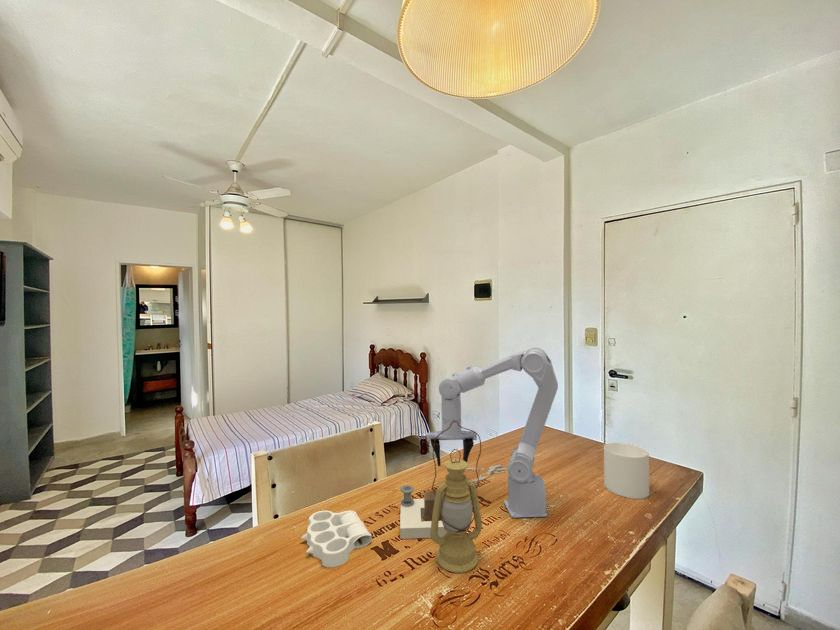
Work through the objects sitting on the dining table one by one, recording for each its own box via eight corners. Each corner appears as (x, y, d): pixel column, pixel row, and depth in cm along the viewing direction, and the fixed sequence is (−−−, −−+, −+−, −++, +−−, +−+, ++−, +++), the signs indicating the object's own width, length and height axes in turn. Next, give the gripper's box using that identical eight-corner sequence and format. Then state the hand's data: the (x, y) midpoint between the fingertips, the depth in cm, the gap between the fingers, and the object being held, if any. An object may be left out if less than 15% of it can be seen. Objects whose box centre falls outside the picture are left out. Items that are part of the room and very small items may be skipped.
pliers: (457, 466, 119) (496, 460, 123) (457, 470, 119) (496, 465, 123) (468, 479, 109) (511, 472, 113) (468, 484, 109) (511, 477, 113)
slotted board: (444, 507, 96) (443, 483, 96) (450, 537, 83) (449, 509, 83) (401, 508, 95) (400, 485, 95) (400, 538, 82) (399, 511, 82)
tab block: (438, 518, 90) (437, 491, 90) (439, 527, 86) (439, 499, 86) (424, 518, 90) (424, 492, 90) (425, 528, 86) (424, 500, 86)
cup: (606, 494, 101) (606, 454, 101) (602, 477, 112) (601, 440, 112) (653, 502, 97) (653, 459, 97) (644, 483, 107) (643, 445, 107)
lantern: (473, 538, 82) (472, 412, 82) (491, 567, 72) (489, 425, 73) (425, 546, 79) (423, 416, 79) (436, 578, 70) (434, 430, 70)
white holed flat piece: (377, 553, 78) (311, 578, 71) (351, 514, 94) (295, 531, 86) (377, 538, 78) (311, 561, 71) (351, 501, 94) (295, 517, 86)
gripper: (473, 413, 106) (473, 458, 106) (426, 414, 105) (426, 459, 105) (477, 420, 98) (478, 468, 98) (427, 421, 98) (428, 469, 98)
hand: (452, 464), depth 101 cm, fingers open, 7 cm apart
